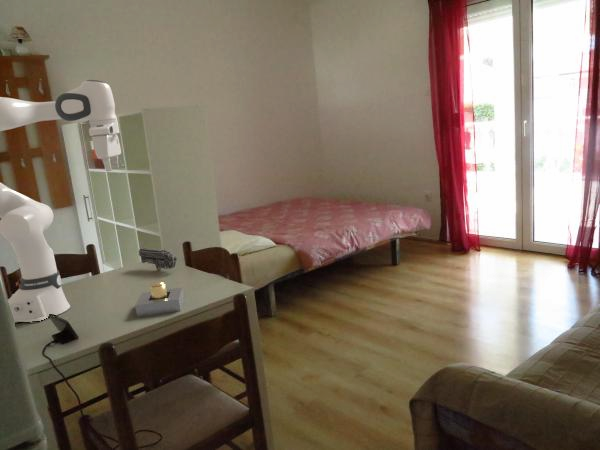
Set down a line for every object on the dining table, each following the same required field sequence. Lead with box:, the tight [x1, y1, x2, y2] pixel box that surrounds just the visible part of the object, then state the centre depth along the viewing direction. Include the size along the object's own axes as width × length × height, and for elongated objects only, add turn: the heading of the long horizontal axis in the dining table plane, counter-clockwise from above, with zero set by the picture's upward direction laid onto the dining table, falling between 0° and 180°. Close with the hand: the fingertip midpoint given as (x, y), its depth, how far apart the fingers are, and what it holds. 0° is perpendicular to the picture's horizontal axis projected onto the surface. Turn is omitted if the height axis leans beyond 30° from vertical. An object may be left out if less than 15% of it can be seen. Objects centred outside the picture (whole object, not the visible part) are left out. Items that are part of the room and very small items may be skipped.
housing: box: [134, 287, 185, 318], centre depth 162 cm, size 14×12×5 cm
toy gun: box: [138, 247, 178, 271], centre depth 208 cm, size 3×24×10 cm, turn 55°
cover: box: [149, 280, 168, 300], centre depth 161 cm, size 5×5×9 cm
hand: (112, 170), depth 164 cm, fingers open, 8 cm apart
